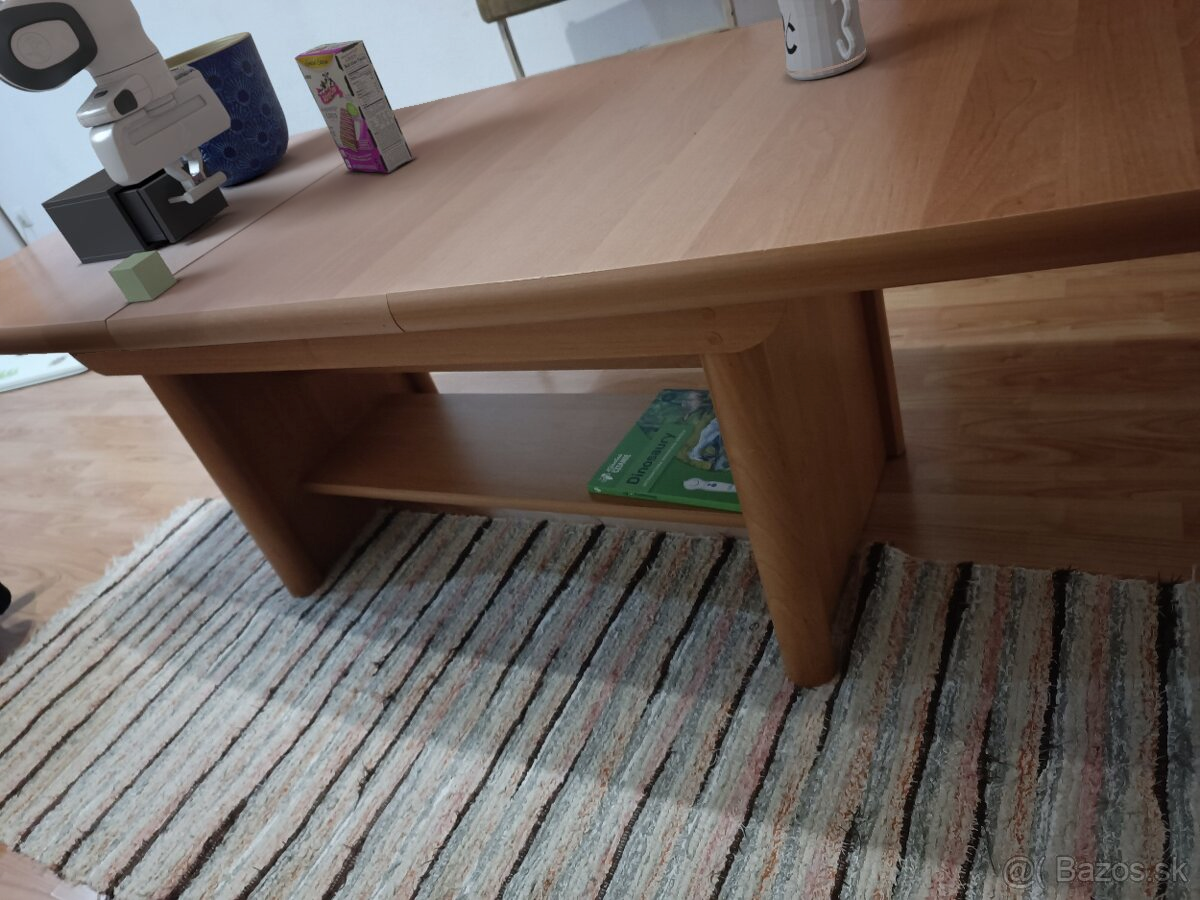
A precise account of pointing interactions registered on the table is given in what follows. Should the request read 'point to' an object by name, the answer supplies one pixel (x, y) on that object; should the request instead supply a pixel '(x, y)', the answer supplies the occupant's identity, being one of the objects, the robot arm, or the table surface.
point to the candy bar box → (354, 106)
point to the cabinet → (96, 221)
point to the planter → (239, 107)
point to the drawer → (171, 204)
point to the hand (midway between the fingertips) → (198, 187)
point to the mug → (821, 36)
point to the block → (142, 276)
